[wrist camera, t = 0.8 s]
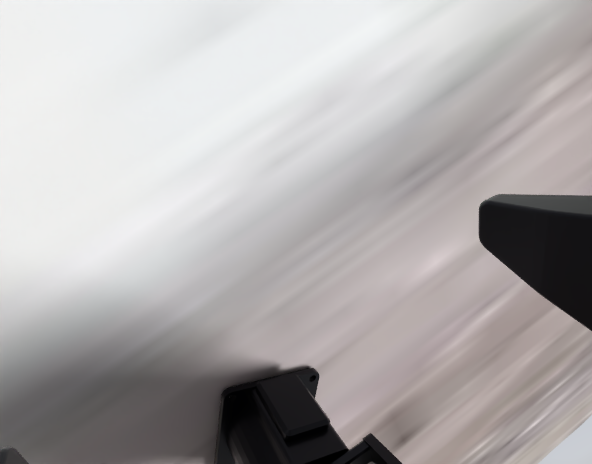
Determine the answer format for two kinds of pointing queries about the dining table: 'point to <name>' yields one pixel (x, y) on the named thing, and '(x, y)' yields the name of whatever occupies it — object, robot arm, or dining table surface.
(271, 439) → the robot arm
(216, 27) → the dining table surface
